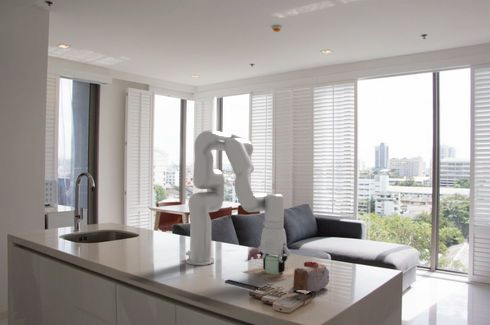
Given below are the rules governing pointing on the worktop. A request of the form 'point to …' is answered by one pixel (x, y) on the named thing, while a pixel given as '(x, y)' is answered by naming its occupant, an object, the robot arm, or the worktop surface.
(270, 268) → the cap
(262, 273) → the post stand
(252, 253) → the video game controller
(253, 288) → the mat
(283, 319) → the worktop surface
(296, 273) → the food item
